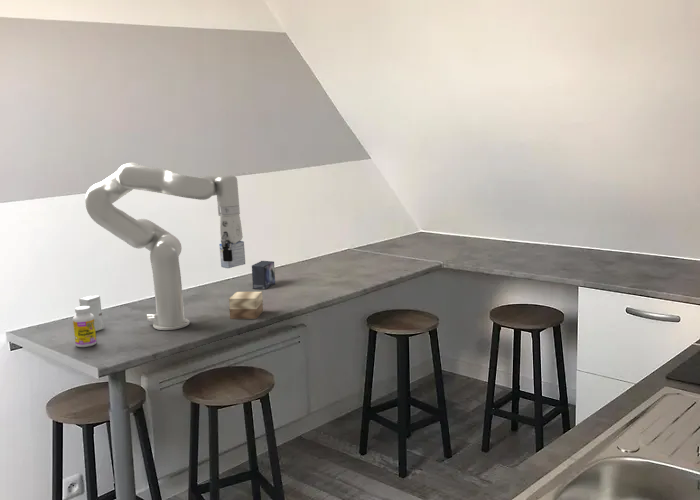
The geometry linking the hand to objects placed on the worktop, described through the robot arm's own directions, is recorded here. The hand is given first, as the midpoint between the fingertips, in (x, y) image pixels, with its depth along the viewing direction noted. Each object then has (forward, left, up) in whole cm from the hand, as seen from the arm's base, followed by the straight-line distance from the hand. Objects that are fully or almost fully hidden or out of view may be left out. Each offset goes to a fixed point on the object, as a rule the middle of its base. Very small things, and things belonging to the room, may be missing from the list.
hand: (232, 258), depth 254 cm
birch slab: (+1, +8, -20) cm, 21 cm away
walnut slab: (+1, +8, -24) cm, 25 cm away
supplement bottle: (-44, -28, -24) cm, 57 cm away
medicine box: (0, 0, -3) cm, 3 cm away
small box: (-4, +52, -24) cm, 57 cm away
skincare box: (-50, -12, -24) cm, 56 cm away
